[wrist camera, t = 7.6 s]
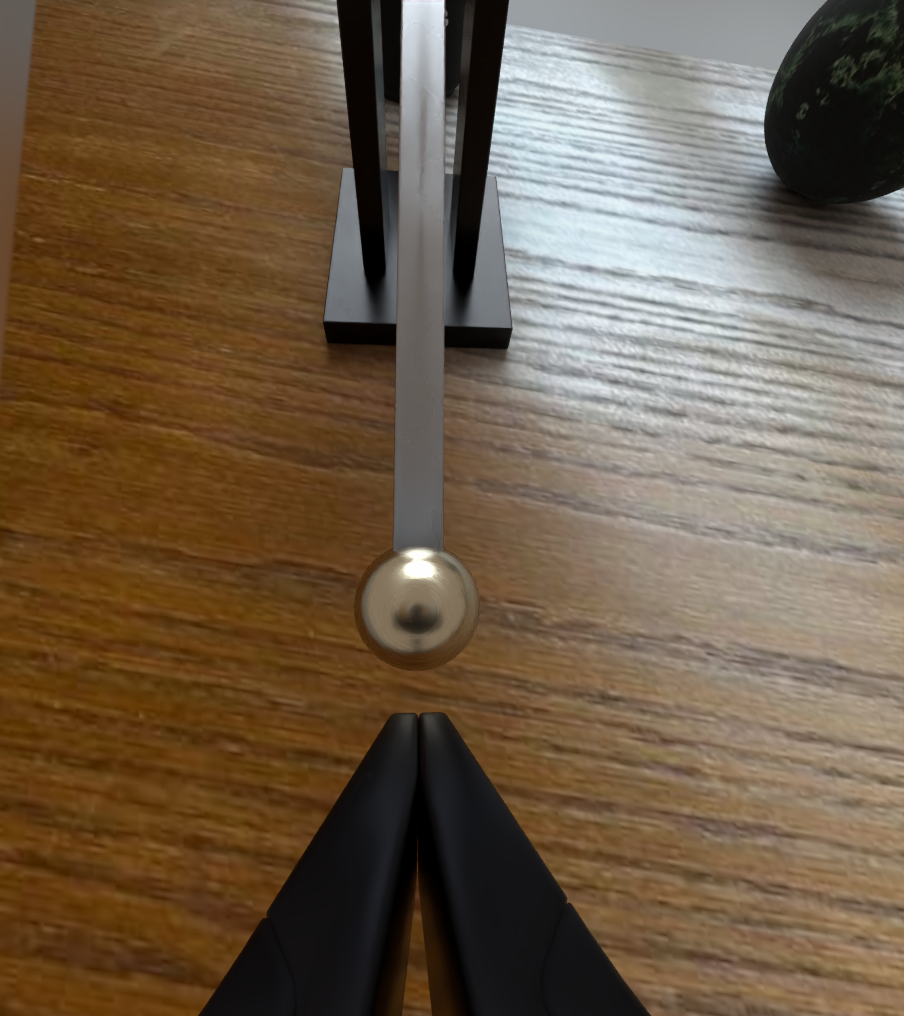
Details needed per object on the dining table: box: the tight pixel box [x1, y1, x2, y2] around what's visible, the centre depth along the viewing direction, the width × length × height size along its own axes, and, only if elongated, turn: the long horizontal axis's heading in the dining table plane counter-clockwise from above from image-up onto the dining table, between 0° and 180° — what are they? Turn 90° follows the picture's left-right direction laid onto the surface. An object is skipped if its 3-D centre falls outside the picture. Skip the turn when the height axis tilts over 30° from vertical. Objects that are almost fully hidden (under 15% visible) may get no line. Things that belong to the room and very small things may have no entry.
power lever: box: [354, 0, 480, 671], centre depth 12 cm, size 23×3×3 cm, turn 1°
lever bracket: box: [323, 0, 512, 349], centre depth 18 cm, size 11×8×14 cm
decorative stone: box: [764, 0, 904, 204], centre depth 25 cm, size 10×10×10 cm
